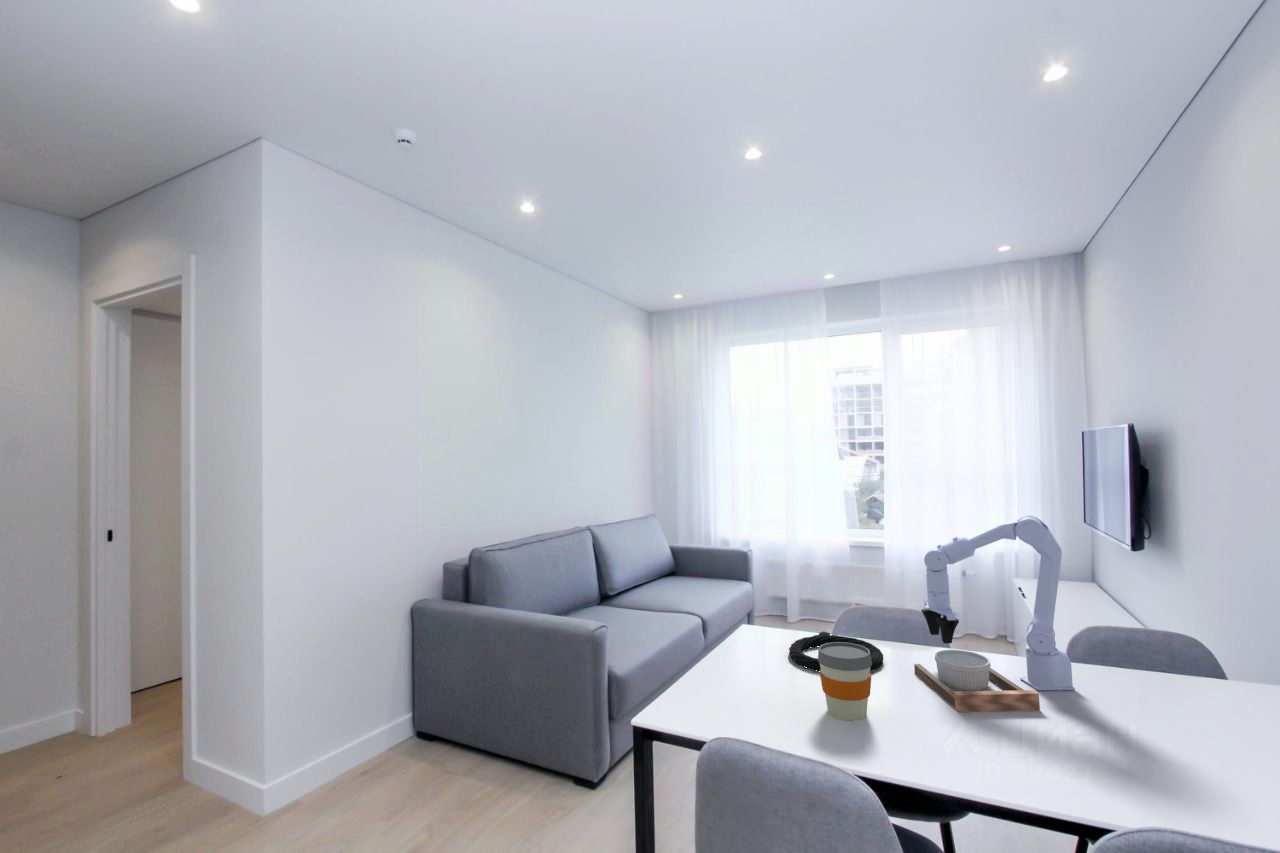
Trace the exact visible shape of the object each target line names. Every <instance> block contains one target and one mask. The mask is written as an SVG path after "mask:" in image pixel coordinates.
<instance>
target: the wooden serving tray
mask: <svg viewBox="0 0 1280 853" xmlns="http://www.w3.org/2000/svg"><path fill="white" fill-rule="evenodd" d="M913 665H914V666H913V667H914V674H915V675H916V676H917V677H919V678H920V679H921V680H922V681H923V682H924V683H925V684H927V685H928V687H930V688H931V689H932V690H934V691H935V692H936V693H937V694H938V695H939V696H940V697H942V698H943V699H944V700H945V701H946V702H947V703H949V704H950V705H951V706H952V707H953V708H954V709H956V710H957V711H958V712H959V713H966V712H967V713H969V712H970V713H972V712H974V713H975V712H976V713H977V712H1026V711H1028V712H1030V711H1033V712H1037V711H1041V707H1040V693H1038V692H1037V691H1035V690H1034V689H1029V690H1028V689H1027V690H1026V689H1023V688H1022V687H1020V686H1019V685H1017V684H1016V683H1014V682H1012V680H1010V679H1008V677H1007V678H1006V677H1005V676H1004V675H1002V674H1001V673H998V672H997V671H996V670H995V669H993V668H991V667H990V668H989V681H990V682H992V683H993V684H994V685H996V686H997V687H998V688H1000V689H1002V690H981V691H954V690H952V688H951V687H948V686H946V685H945V684H944V683H943V682H942V681H941V680H940V678H938V677H937V676H935V675H934V674H933V673H931V672H930V671H929V670H928V669H927V668H925V667H924V666H923V665H922V664H920V663H914V664H913Z"/></svg>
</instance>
